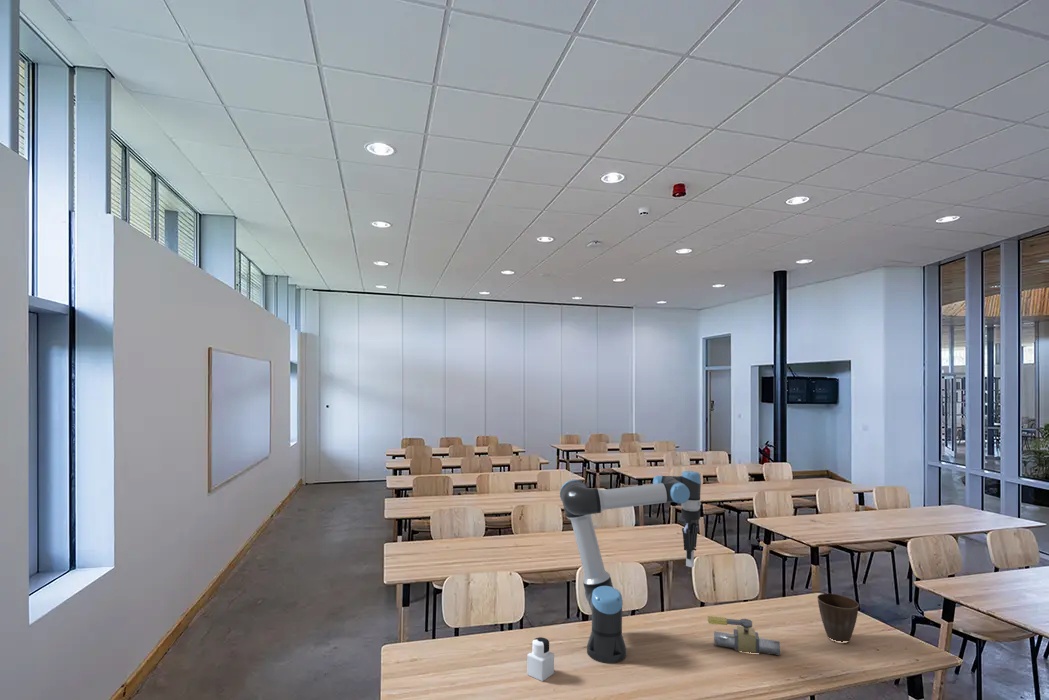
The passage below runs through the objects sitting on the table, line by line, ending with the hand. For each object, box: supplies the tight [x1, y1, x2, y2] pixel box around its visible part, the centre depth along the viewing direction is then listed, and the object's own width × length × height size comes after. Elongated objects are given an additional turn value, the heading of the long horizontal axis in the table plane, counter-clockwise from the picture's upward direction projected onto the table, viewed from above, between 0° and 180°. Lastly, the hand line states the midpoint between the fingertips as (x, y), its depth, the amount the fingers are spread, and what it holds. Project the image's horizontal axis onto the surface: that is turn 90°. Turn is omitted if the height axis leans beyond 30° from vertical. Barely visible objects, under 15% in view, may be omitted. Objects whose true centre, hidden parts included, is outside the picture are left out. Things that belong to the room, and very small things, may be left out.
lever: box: [707, 615, 753, 628], centre depth 217 cm, size 17×4×2 cm, turn 80°
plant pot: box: [817, 593, 860, 642], centre depth 226 cm, size 15×15×16 cm
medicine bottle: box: [526, 637, 555, 682], centre depth 195 cm, size 7×7×12 cm
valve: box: [713, 625, 781, 656], centre depth 216 cm, size 24×7×9 cm, turn 72°
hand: (689, 566), depth 227 cm, fingers closed
